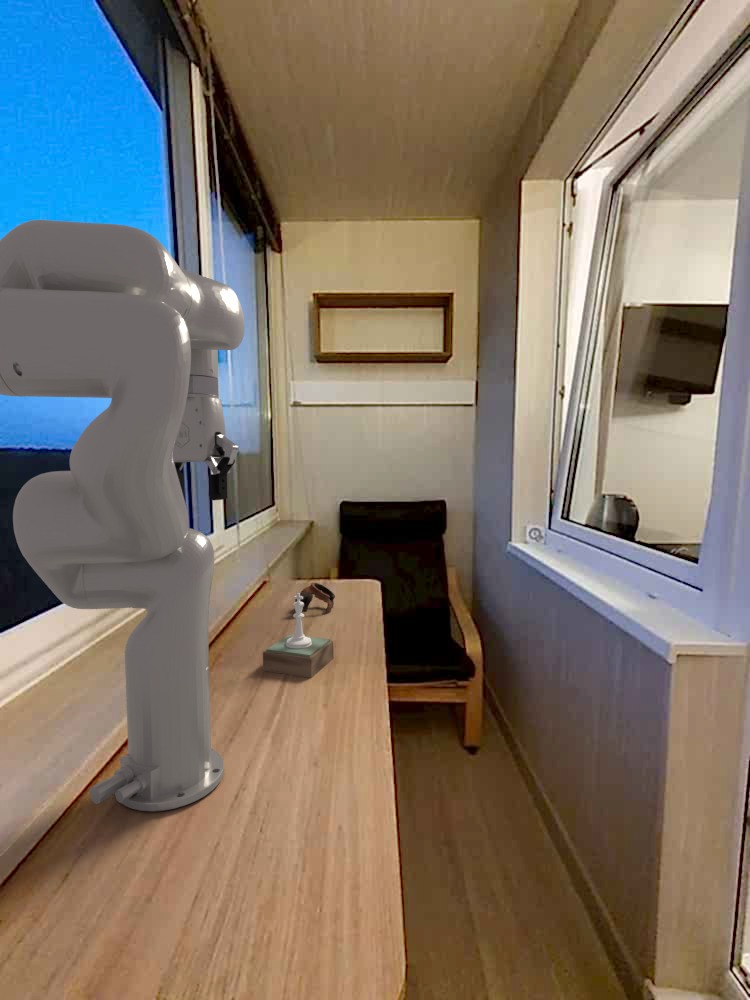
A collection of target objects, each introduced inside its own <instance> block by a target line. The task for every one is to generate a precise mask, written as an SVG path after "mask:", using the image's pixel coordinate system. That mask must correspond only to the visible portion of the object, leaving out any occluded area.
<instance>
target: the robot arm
mask: <svg viewBox="0 0 750 1000" xmlns="http://www.w3.org/2000/svg"><path fill="white" fill-rule="evenodd" d="M245 325H246V323H245V316H244V311H243V307H242V304H241V301H240V300H239V297H238V296H237V294H236V292H235V290H234V289H233V288H232V287H230V286H229V285H227V284H225V283H223V282H220V281H218V280H215V279H212V278H209V277H206V276H203V275H200V274H198V273H195V272H193V271H189V270H187V269H184V268H181V267H180V266H179V265H178V263H177V261H176V260H175V259H174V257H173V256H172V255H171V254H170V252H169V251H168V249H167V248H166V247H165V246H164V244H163V243H162V242H161V241H159V239H157V238H156V237H155V236H154V235H152V234H151V233H149V232H147V231H145V230H143V229H139V228H137V227H134V226H129V225H124V224H116V223H98V222H97V223H95V222H78V221H68V220H67V221H66V220H65V221H64V220H52V219H50V220H49V219H32V220H28V221H25V222H23V223H21V224H18V225H17V226H15V227H14V228H12V229H11V230H10V231H9V232H8V233H6V234H5V235H4V236H3V237H2V238H1V239H0V395H2V396H9V397H21V398H22V397H23V398H25V397H32V398H33V397H36V398H37V397H40V398H41V397H43V398H47V397H48V398H99V399H100V398H102V399H103V398H104V399H111V401H110V404H108V407H107V408H106V409H104V410H103V411H102V412H101V413H100V414H98V415H97V416H96V417H95V418H94V419H93V420H92V421H91V422H90V423H89V424H88V425H87V426H86V427H85V429H84V430H83V431H82V433H81V434H80V435H79V437H78V438H77V440H76V442H75V444H73V447H72V450H71V452H70V454H69V455H70V456H69V468H70V470H58V471H57V470H55V471H49V472H45V473H44V472H43V473H40V474H38V475H36V476H34V477H32V478H30V479H29V480H28V481H26V483H24V484H23V486H22V487H21V489H20V490H19V492H18V493H17V495H16V497H15V501H14V504H13V508H12V509H13V510H12V523H13V524H12V525H13V532H14V536H15V539H16V543H17V546H18V548H19V550H20V552H21V554H22V556H23V558H24V559H25V560H26V562H27V563H28V564H29V566H30V567H31V568H32V570H33V571H34V573H36V574H37V576H38V577H39V578H40V580H42V582H44V584H45V585H46V586H47V588H48V589H49V590H50V591H51V592H52V594H54V595H55V597H56V598H57V599H58V600H59V601H60V602H61V603H63V604H64V605H65V606H68V607H70V608H72V609H77V610H106V609H107V610H108V609H144V610H146V615H145V616H144V618H142V619H141V621H140V622H139V623H137V625H136V626H135V627H134V629H133V630H132V631H131V633H130V635H129V636H128V638H127V640H126V643H125V648H124V666H125V667H124V670H125V673H124V674H125V696H126V700H125V701H126V721H127V722H126V723H127V724H126V725H127V726H126V727H127V748H128V749H127V752H128V753H127V754H125V755H123V756H122V757H120V758H119V764H120V767H119V768H118V769H117V770H115V771H114V773H113V775H112V776H110V777H108V778H105V779H103V780H102V781H100V782H98V783H97V784H95V785H93V786H91V787H90V788H89V797H90V800H91V801H92V802H93V803H94V804H95V805H98V804H100V803H102V802H104V801H105V800H107V799H108V798H110V797H112V796H114V795H115V799H116V801H117V802H118V803H120V804H122V805H123V806H125V807H128V808H130V809H132V810H136V811H141V812H163V811H168V810H174V809H178V808H181V807H185V806H187V805H190V804H192V803H194V802H197V801H199V800H200V799H202V798H204V797H206V796H207V795H208V794H210V793H211V792H212V791H213V790H214V789H215V788H216V787H218V786H219V784H220V783H221V781H222V780H223V777H224V775H225V762H224V758H223V756H222V755H221V754H220V753H219V752H218V751H217V750H215V749H213V748H212V740H211V739H212V737H211V732H212V731H211V698H210V697H211V696H210V657H209V655H210V654H209V653H210V650H209V649H210V647H209V618H210V617H209V616H210V601H211V591H212V585H213V576H214V569H215V550H214V546H213V544H212V542H211V541H210V539H209V538H208V536H207V535H206V534H204V533H202V532H201V531H199V530H198V529H194V528H190V526H189V513H188V508H187V504H186V501H185V497H184V496H185V475H184V472H181V471H182V470H183V467H184V466H185V464H187V463H200V462H201V463H202V462H205V463H206V465H207V466H208V468H209V469H210V471H211V472H212V474H210V473H209V474H208V475H209V476H208V482H209V483H208V485H209V486H208V487H209V490H208V491H209V499H210V501H221V500H227V499H228V475H229V474H230V473H231V468H232V467H233V466H234V464H235V462H236V458H237V454H238V453H239V449H240V448H239V445H237V444H236V443H235V442H233V440H232V441H231V440H230V439H229V438H227V437H226V436H227V435H226V424H225V417H224V416H225V415H224V409H223V406H222V402H221V401H222V400H221V398H219V393H220V392H219V358H218V357H219V355H218V354H219V351H233V350H236V349H237V348H239V347H240V345H241V344H242V342H243V339H244V335H245Z"/></svg>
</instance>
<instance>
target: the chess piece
mask: <svg viewBox="0 0 750 1000" xmlns="http://www.w3.org/2000/svg"><path fill="white" fill-rule="evenodd" d="M300 593H301V592H297V593H296V595H294V596H293V599H294V600H295V599H297V602H293V608H294V611H295V613H294V614H293V615H292V617H293V618H295V628H294V634H292V635H293V637H292V638H289V639H288V640H287V641H286V646H287V647H289V648H294V649H301V648H306V647H309V646H311V645H312V642H311V639H310V638H308V637H309V636H307V637H305V636H306V634H304V629H303V623H302V618H304V617H305V614H304V613H303V612H302V609H303V606H304V603H303V602H300V599H303V596H300Z"/></svg>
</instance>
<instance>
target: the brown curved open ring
mask: <svg viewBox="0 0 750 1000" xmlns="http://www.w3.org/2000/svg"><path fill="white" fill-rule="evenodd" d="M299 593H300V596H303V599H300V602H303V603H304V606H303V609H302V612H301V613H306V612H308V608H309V605H310V604H311V602H312V601H313V597H314V598H316V599H317V600H320V601H322V602H324V603H326V604H327V606H326V609H325V612H326V613H327V614H330V613H331V611H332V609H334V604H335V603H334V600H335V598H336V595H335V593H334V592H333V591H332V590H331V589H329V588H328V587H326V586H325V585H323V584H321V583H318V582H312V583H310V585H308V586H305V588H303V589H302V590H301V591H300V592H299ZM294 601H295V602H297V599H294ZM295 602H294V603H295Z"/></svg>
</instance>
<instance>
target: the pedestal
mask: <svg viewBox="0 0 750 1000" xmlns="http://www.w3.org/2000/svg"><path fill="white" fill-rule="evenodd" d="M293 635H294V634H290V633H289V634H288V635H286V636H285V637H283V638H281V639H280V640H278V641H277V642H275V643H274V644H272V645H271V646H269V647H268V648H266V649H265V650H264V651H262V671H265V672H270V673H276V674H277V673H278V674H285V675H292V676H297V677H304V678H313V677H315V675H316V674H318V673H319V672H320V671H321V670H322V669H323V668H324V667H326V666H327V665H328V664H329V663H330V662H331V661H332V660H333V659H334V656H335V655H334V640H331V639H330V638H323V637H322V638H321V637H314V636H307V635H305V637H308V638H310V639H311V642H312V645H311V646H309V647H306V648H301V649H294V648H289V647H287V646H286V641H287V640H288V639H289V638H292V637H293Z"/></svg>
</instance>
